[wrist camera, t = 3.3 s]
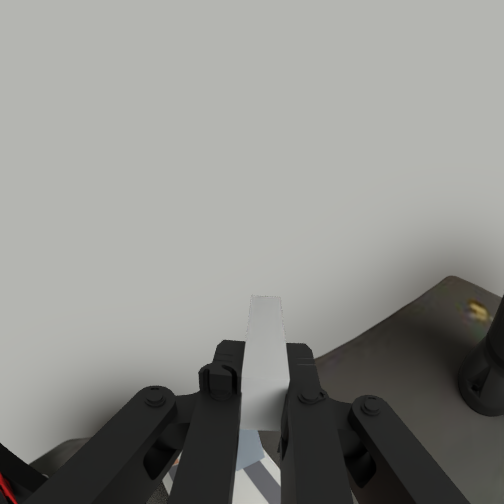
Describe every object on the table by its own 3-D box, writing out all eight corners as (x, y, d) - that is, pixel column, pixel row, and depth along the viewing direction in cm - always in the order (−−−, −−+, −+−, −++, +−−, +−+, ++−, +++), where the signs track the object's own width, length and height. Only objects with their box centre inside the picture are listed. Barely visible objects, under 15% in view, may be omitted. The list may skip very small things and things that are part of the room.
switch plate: (323, 521, 18) (325, 519, 17) (219, 569, 12) (214, 570, 11) (241, 423, 34) (238, 415, 33) (157, 457, 29) (150, 451, 27)
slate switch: (264, 457, 26) (253, 414, 21) (237, 471, 25) (213, 433, 20) (249, 436, 30) (232, 387, 24) (222, 449, 28) (196, 403, 23)
